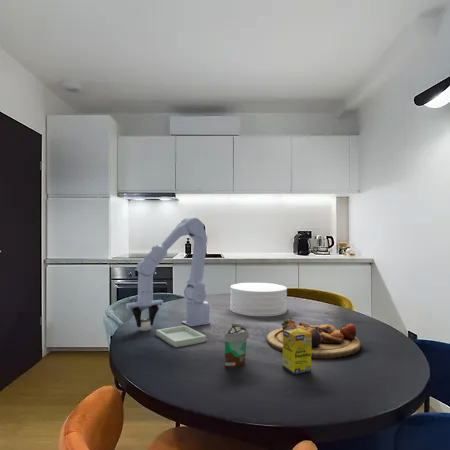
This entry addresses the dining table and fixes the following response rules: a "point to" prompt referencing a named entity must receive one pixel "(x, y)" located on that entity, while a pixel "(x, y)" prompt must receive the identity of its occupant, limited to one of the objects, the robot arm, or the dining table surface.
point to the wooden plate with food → (321, 339)
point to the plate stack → (258, 299)
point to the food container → (235, 346)
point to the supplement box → (297, 351)
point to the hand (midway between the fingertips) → (144, 325)
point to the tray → (180, 336)
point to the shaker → (145, 324)
